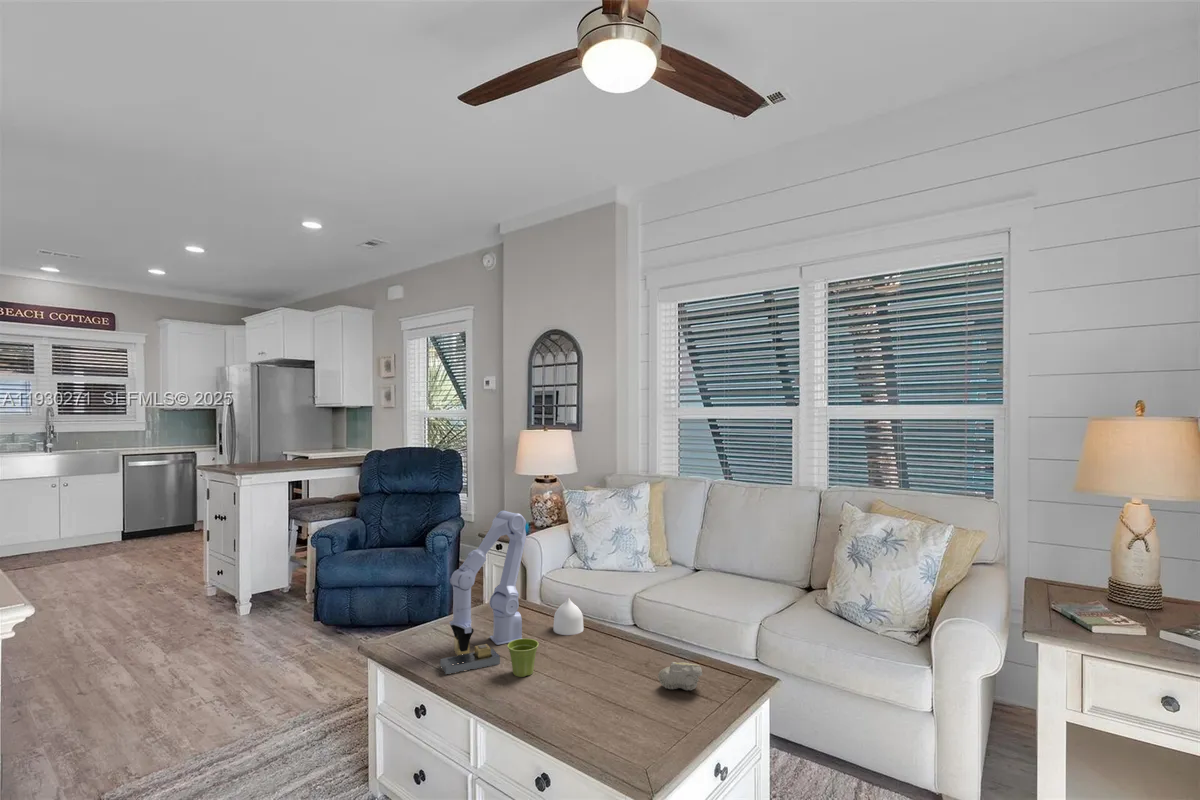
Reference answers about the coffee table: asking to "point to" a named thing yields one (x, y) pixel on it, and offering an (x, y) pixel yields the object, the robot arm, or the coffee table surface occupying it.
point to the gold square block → (457, 647)
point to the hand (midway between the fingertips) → (461, 648)
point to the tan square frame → (482, 651)
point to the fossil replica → (680, 676)
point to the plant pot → (523, 656)
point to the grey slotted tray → (468, 662)
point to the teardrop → (568, 619)
